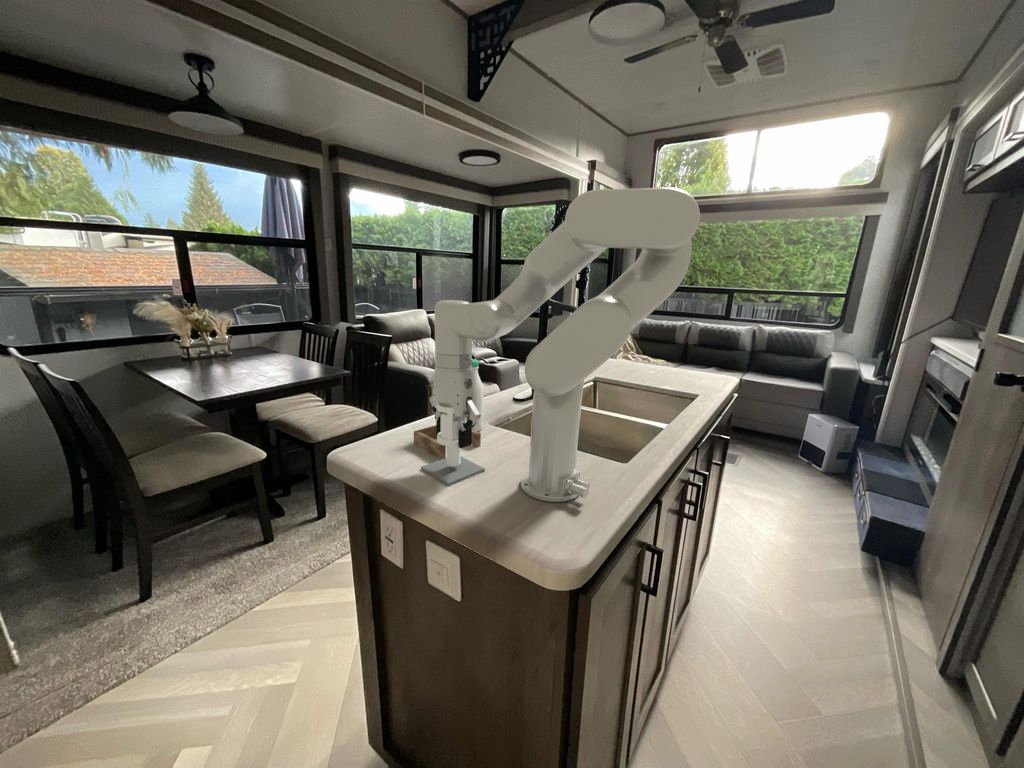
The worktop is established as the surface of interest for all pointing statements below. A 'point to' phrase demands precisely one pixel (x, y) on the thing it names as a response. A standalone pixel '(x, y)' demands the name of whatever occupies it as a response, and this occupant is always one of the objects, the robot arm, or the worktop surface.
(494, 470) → the worktop surface
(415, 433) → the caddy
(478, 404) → the milk bottle
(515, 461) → the worktop surface
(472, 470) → the trivet
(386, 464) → the worktop surface
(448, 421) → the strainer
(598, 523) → the worktop surface
